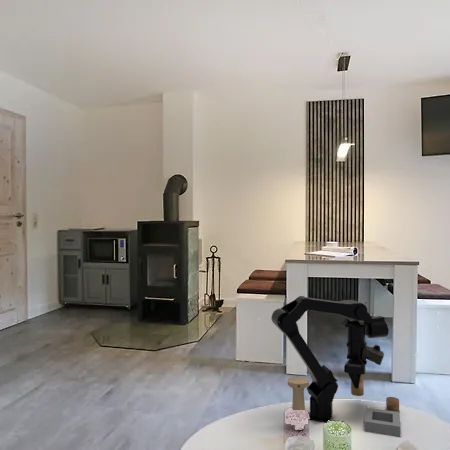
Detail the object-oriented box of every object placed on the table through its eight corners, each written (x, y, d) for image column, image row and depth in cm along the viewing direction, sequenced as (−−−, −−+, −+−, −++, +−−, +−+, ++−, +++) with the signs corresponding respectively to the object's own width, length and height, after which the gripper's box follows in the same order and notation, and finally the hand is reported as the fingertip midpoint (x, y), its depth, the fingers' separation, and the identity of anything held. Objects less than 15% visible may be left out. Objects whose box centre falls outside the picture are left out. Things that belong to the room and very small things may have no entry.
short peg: (386, 413, 140) (386, 401, 140) (386, 407, 144) (386, 396, 144) (399, 414, 139) (399, 402, 139) (399, 409, 143) (399, 397, 143)
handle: (310, 433, 128) (309, 383, 128) (289, 432, 129) (288, 383, 129) (308, 425, 133) (307, 377, 133) (288, 425, 134) (287, 377, 133)
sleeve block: (364, 431, 129) (364, 421, 129) (366, 416, 138) (366, 407, 138) (400, 436, 125) (400, 426, 125) (399, 421, 134) (399, 412, 134)
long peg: (350, 395, 140) (350, 370, 140) (351, 390, 143) (351, 366, 143) (363, 396, 138) (362, 372, 138) (364, 391, 142) (363, 368, 142)
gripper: (381, 349, 129) (382, 400, 129) (382, 333, 146) (383, 378, 147) (343, 346, 133) (344, 395, 133) (349, 331, 150) (350, 375, 151)
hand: (357, 385), depth 141 cm, fingers closed on long peg, 4 cm apart
